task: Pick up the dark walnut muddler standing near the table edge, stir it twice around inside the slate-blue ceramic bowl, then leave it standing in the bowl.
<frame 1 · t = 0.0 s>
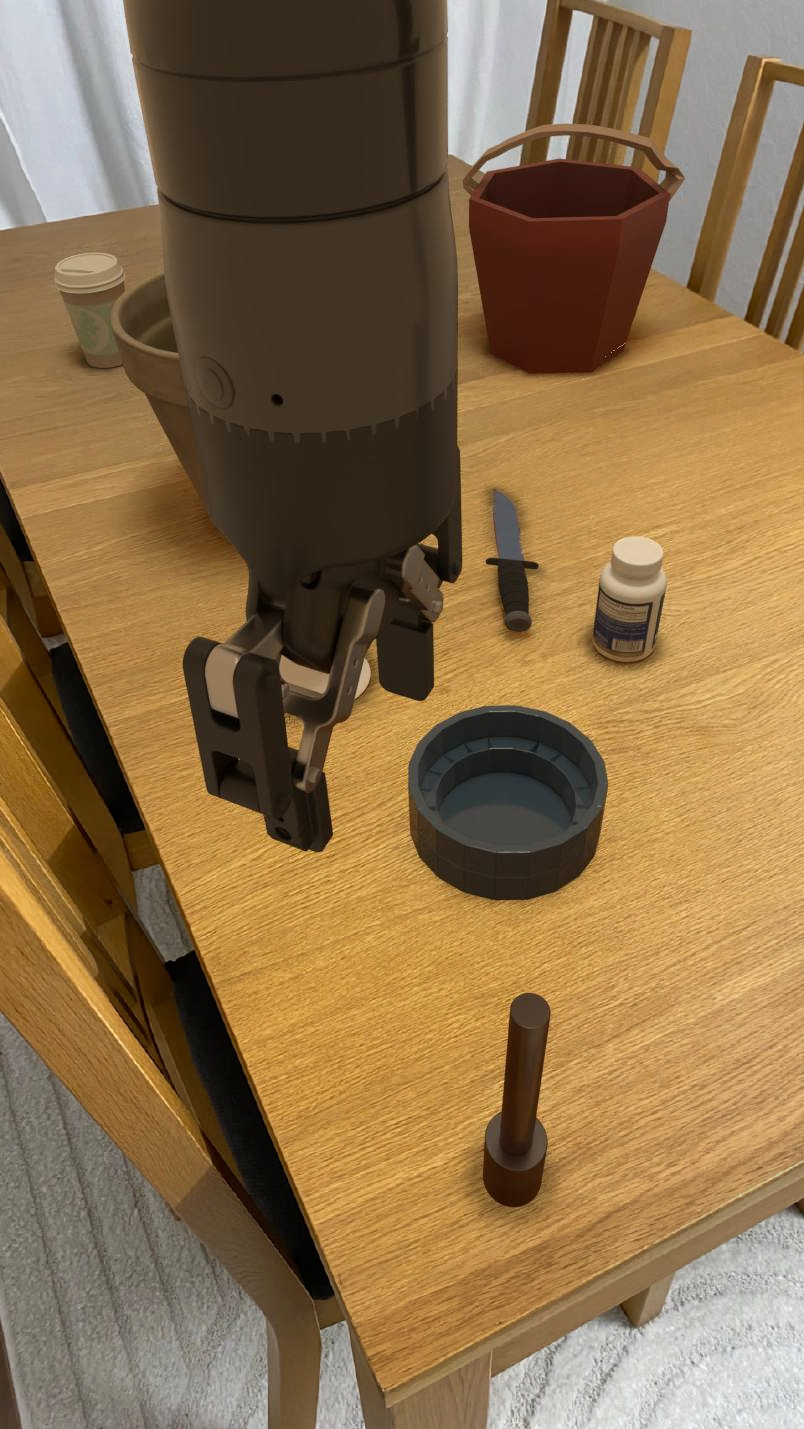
hand: (358, 759, 38), 28 cm above the table, tool pointing down, fingers open, 8 cm apart
knife: (510, 559, 95), on the table
muddler: (511, 1176, 54), on the table
coffee cup: (110, 360, 130), on the table
pill bottle: (622, 645, 86), on the table
wineglass: (319, 678, 84), on the table
bowl: (503, 829, 71), on the table
bucket: (555, 349, 127), on the table
flower pot: (279, 507, 103), on the table
vase: (249, 308, 140), on the table
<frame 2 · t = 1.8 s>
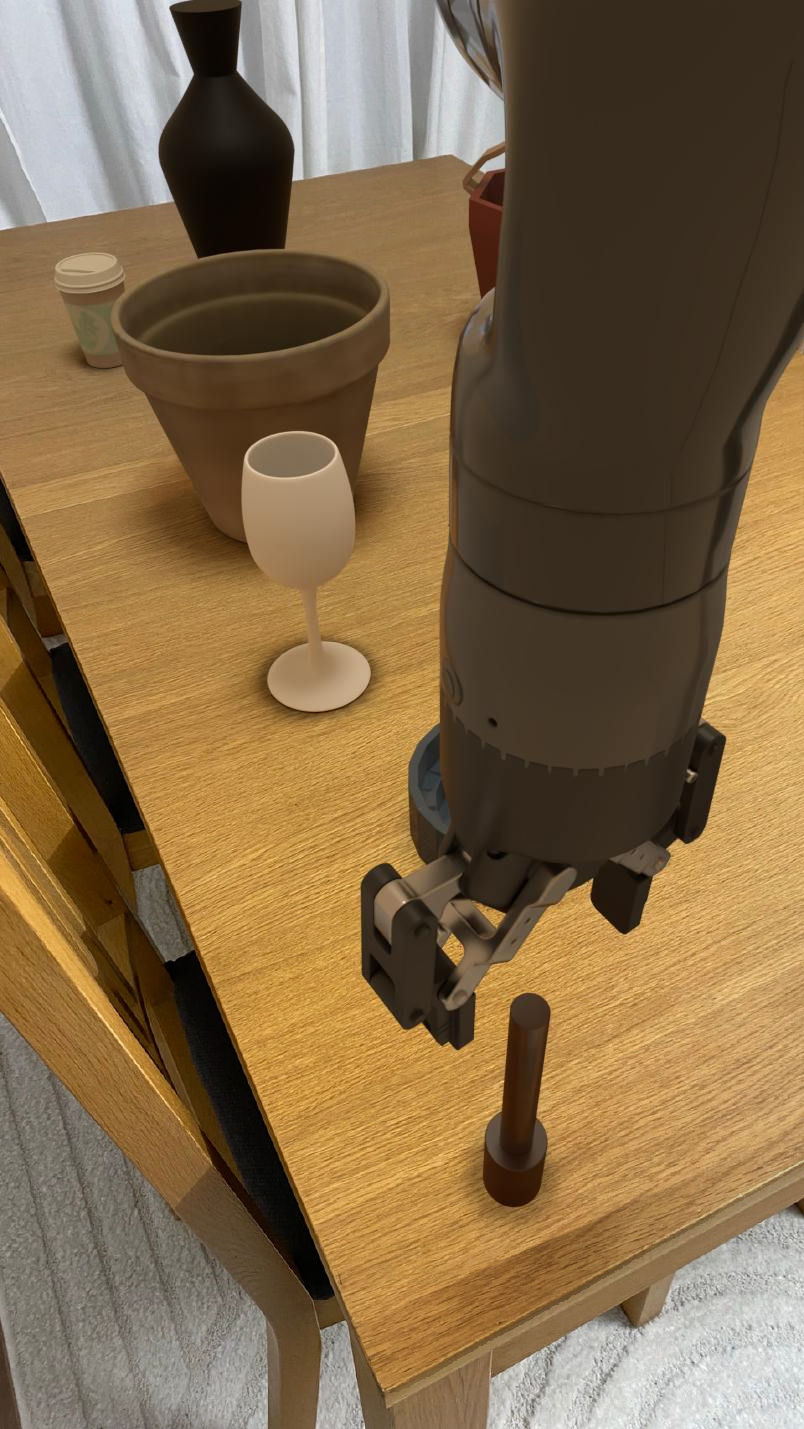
hand: (535, 969, 39), 21 cm above the table, tool pointing down, fingers open, 8 cm apart
nothing on the table moved.
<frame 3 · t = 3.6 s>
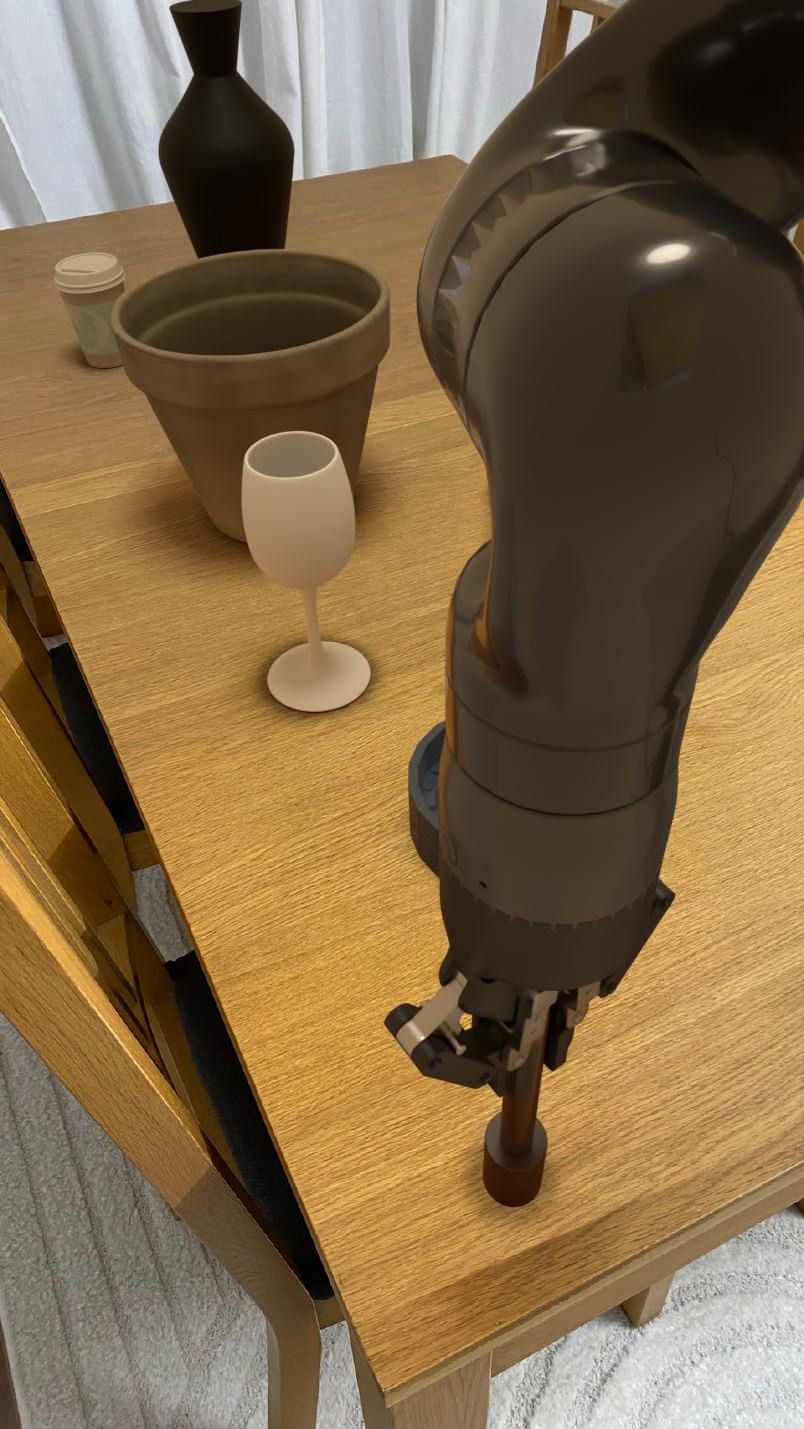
hand: (524, 1065, 45), 13 cm above the table, tool pointing down, fingers closed on muddler
muddler: (512, 1176, 54), on the table, touching gripper
everything else where it was.
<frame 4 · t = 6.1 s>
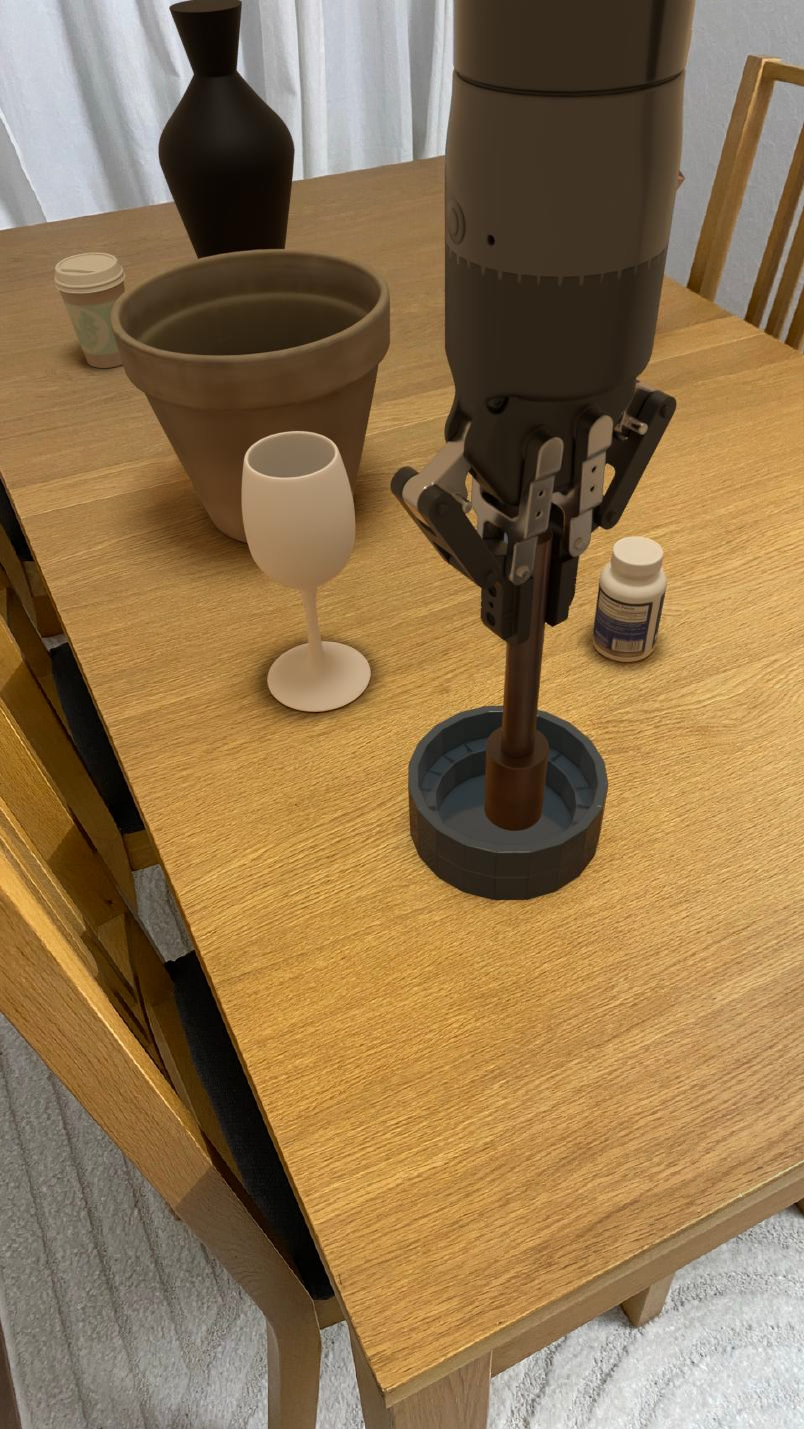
hand: (527, 623, 45), 27 cm above the table, tool pointing down, fingers closed on muddler
muddler: (513, 808, 55), point 14 cm above the table, touching gripper
everything else where it was.
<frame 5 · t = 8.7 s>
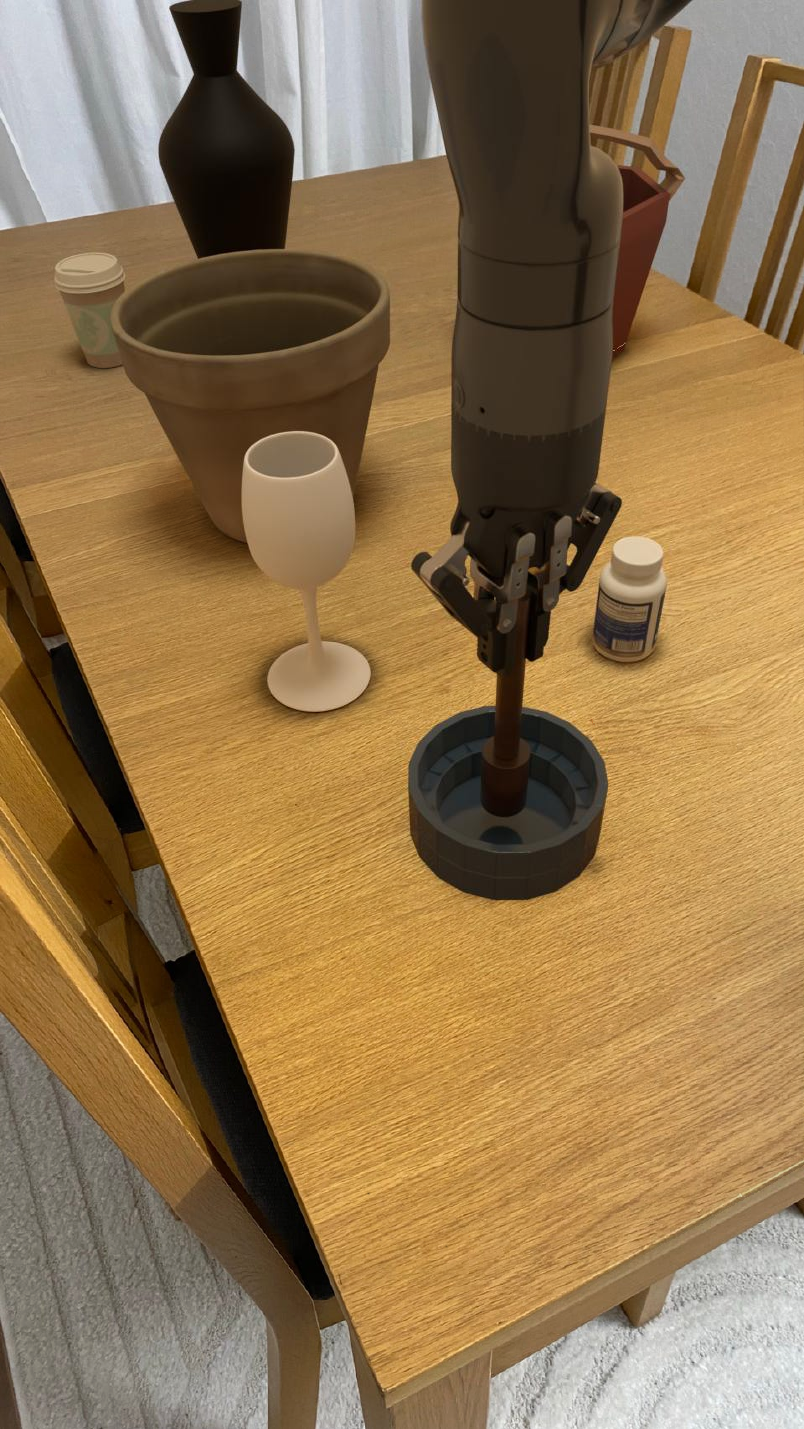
hand: (512, 659, 60), 16 cm above the table, tool pointing down, fingers closed on muddler
muddler: (503, 799, 69), point 3 cm above the table, touching gripper
everything else where it was.
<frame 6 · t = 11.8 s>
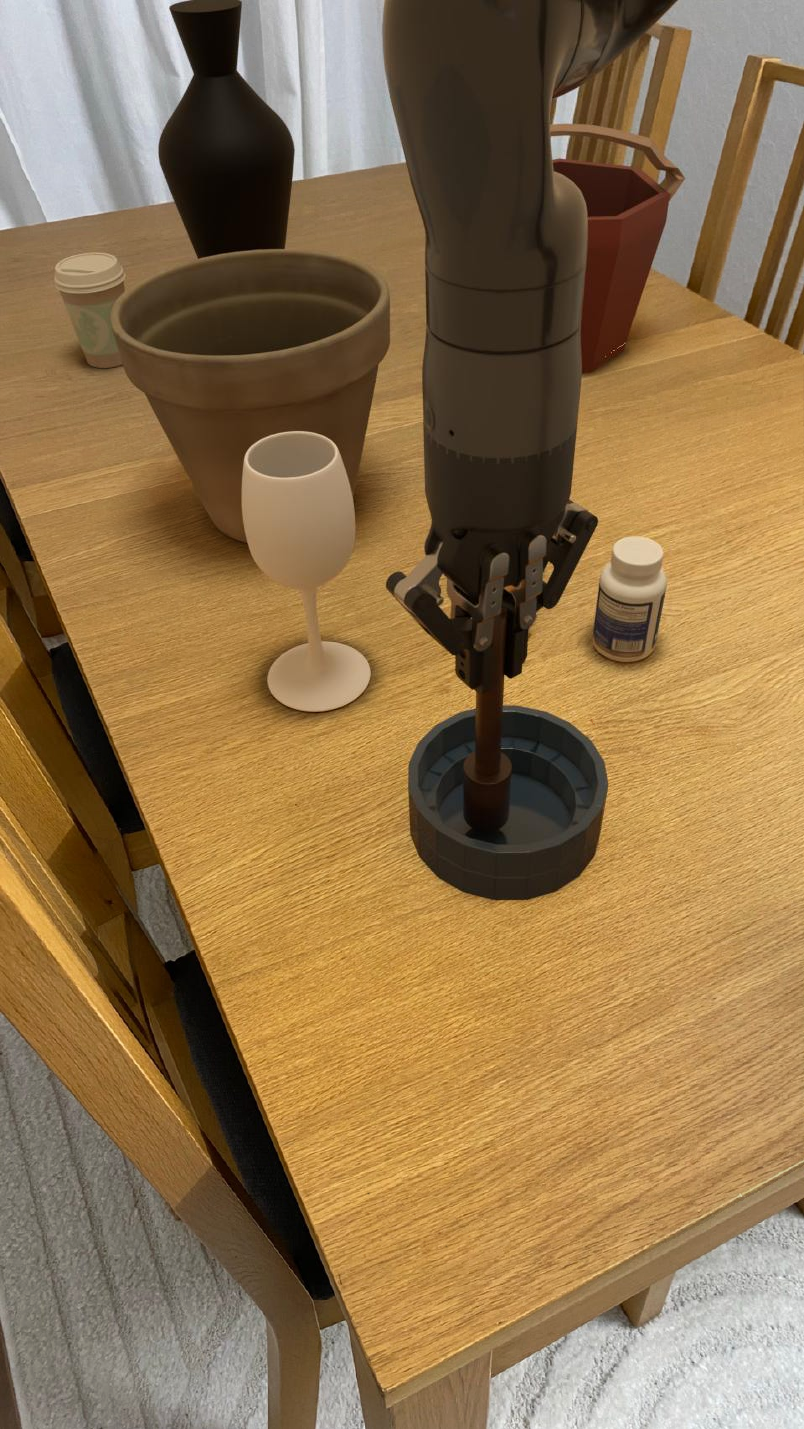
hand: (491, 676, 60), 15 cm above the table, tool pointing down, fingers closed on muddler
muddler: (486, 814, 70), point 2 cm above the table, touching gripper
everything else where it was.
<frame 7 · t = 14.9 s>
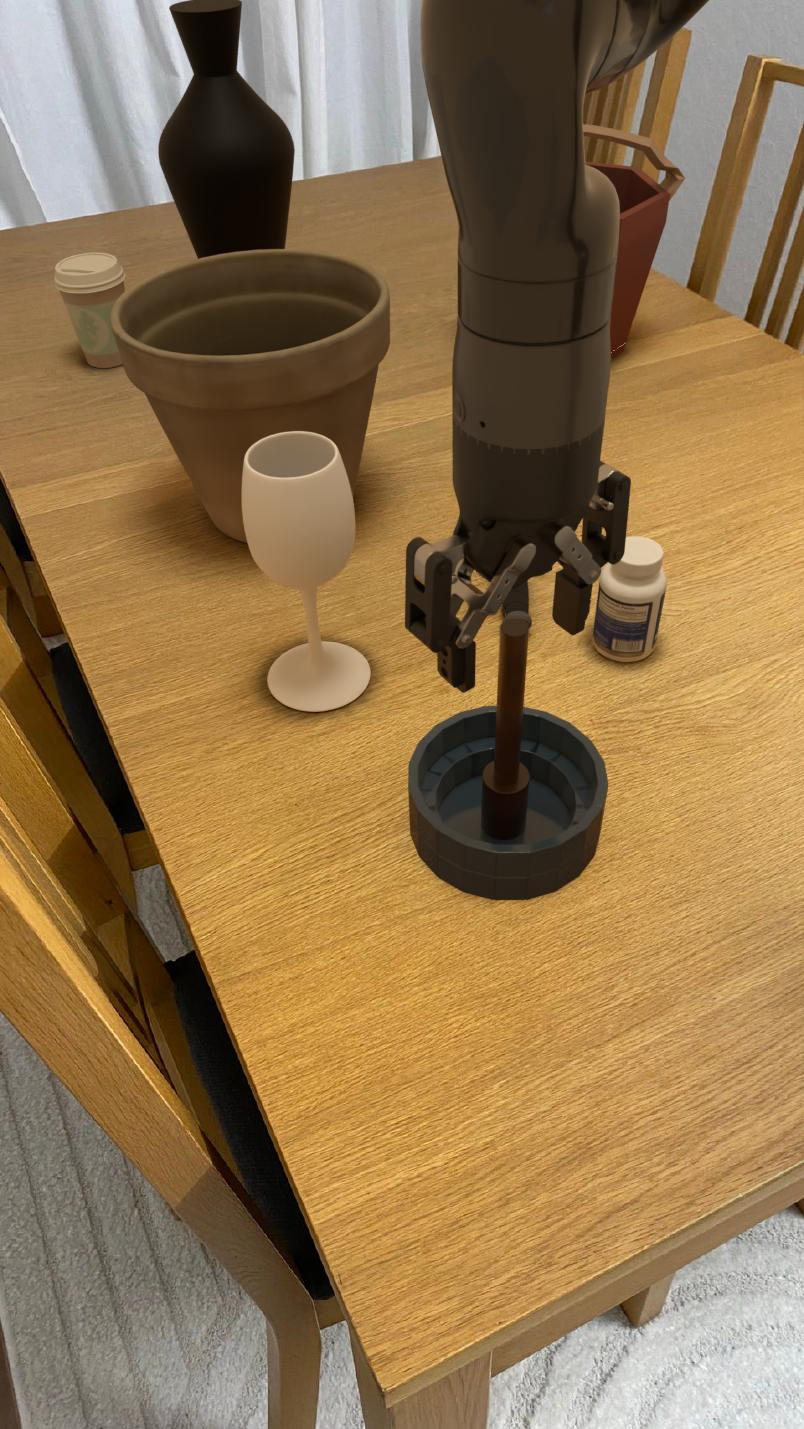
hand: (515, 654, 60), 16 cm above the table, tool pointing down, fingers open, 8 cm apart
muddler: (503, 822, 71), point 1 cm above the table, touching bowl
everything else where it was.
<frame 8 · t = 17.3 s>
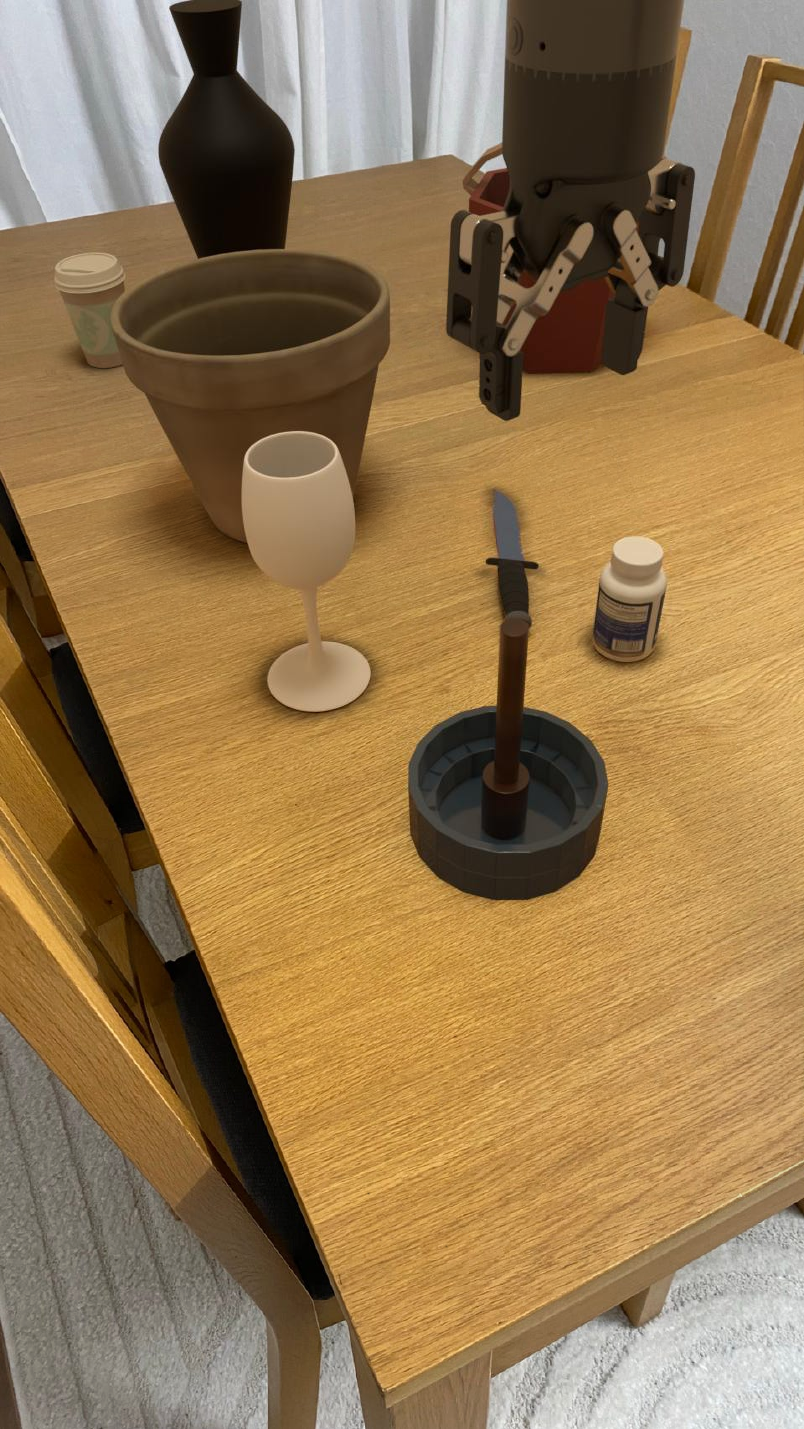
hand: (561, 391, 55), 30 cm above the table, tool pointing down, fingers open, 8 cm apart
nothing on the table moved.
at the end: muddler inside the target area in the bowl (0.0 cm from its centre), point 0.8 cm above the bowl's base; muddler tilted 0°; the gripper is holding nothing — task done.
